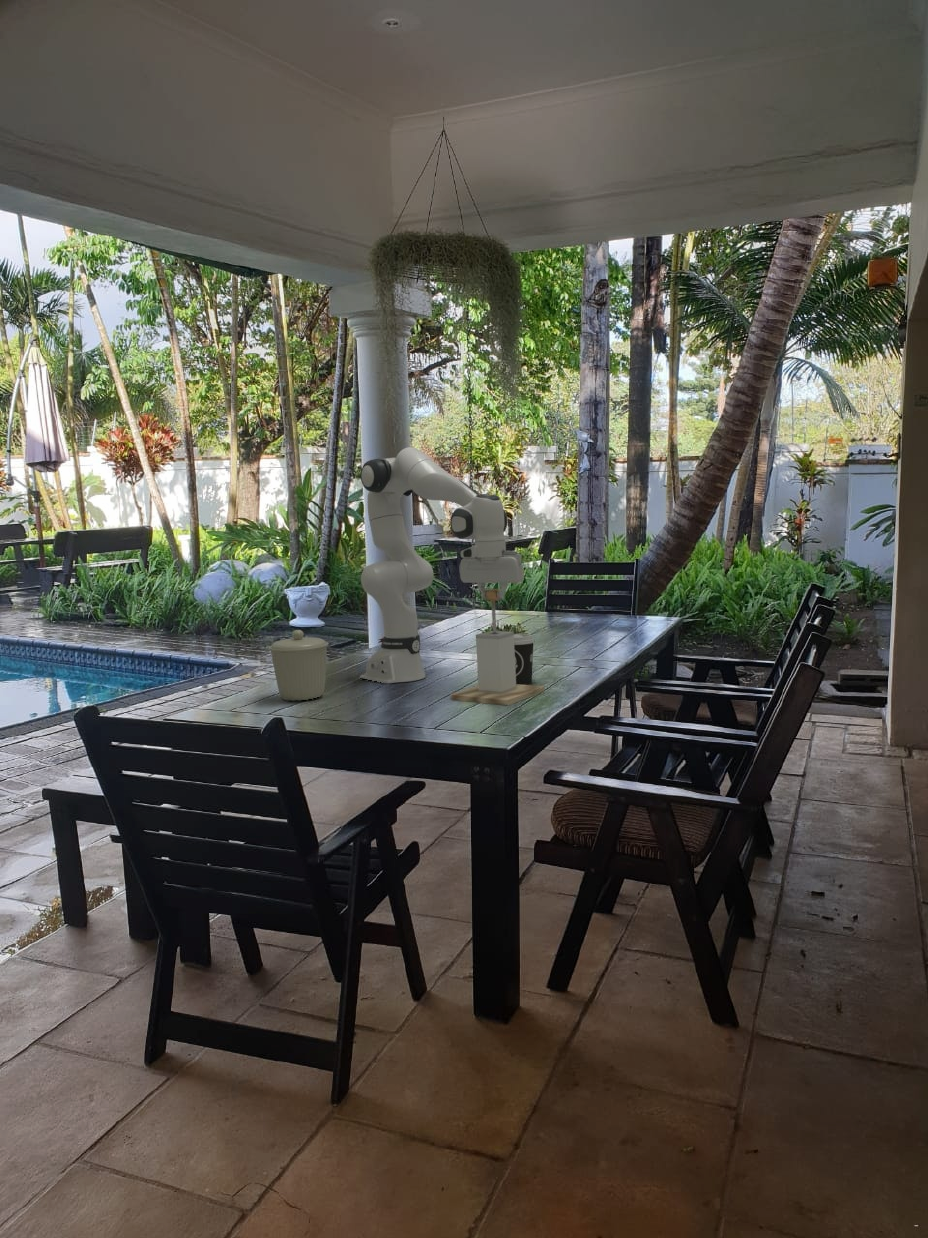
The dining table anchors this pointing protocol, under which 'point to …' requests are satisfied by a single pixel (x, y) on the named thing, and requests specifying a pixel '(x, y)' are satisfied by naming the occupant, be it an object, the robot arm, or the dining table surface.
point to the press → (496, 662)
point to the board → (497, 695)
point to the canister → (300, 666)
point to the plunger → (492, 596)
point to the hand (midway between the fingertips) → (493, 598)
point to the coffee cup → (523, 658)
